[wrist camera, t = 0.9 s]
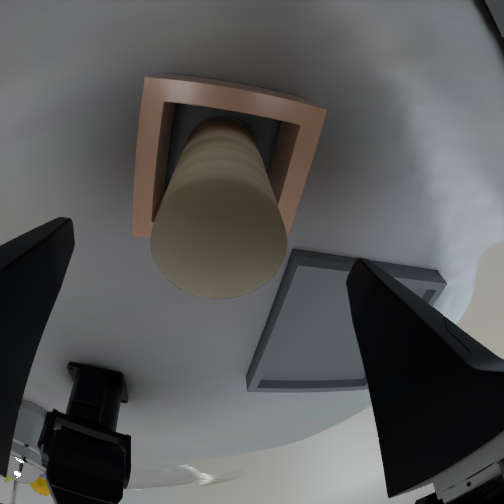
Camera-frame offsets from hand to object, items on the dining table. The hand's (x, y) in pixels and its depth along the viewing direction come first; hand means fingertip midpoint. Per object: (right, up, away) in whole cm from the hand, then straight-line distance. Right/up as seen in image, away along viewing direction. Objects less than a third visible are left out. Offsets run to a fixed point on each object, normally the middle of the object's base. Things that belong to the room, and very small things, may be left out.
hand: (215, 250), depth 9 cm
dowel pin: (-1, +6, +8) cm, 10 cm away
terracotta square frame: (-1, +6, +8) cm, 10 cm away
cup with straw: (-34, -25, +27) cm, 50 cm away
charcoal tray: (+9, -7, +18) cm, 22 cm away
